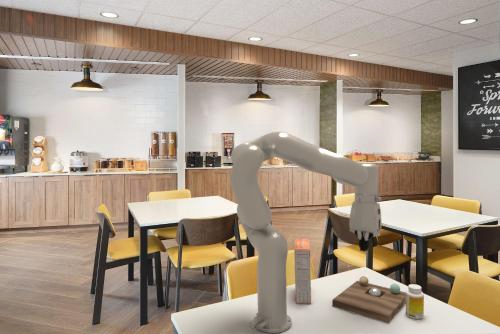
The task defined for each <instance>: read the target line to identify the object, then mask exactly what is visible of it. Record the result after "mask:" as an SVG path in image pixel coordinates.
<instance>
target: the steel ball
mask: <svg viewBox="0 0 500 334" xmlns="http://www.w3.org/2000/svg"><path fill="white" fill-rule="evenodd" d="M369 295H373V296H377V297H381V291H380V290H379V289H378V288H371V289H370V290H369Z"/></svg>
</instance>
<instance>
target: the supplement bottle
mask: <svg viewBox="0 0 500 334" xmlns="http://www.w3.org/2000/svg"><path fill="white" fill-rule="evenodd" d="M405 292H406V303H405V315H406V316H407V317H409V318H410V319H415V320H421V319H423V318H424V315H425V314H424V312H425V310H424V309H425V308H424V307H425V306H424V305H425V304H424V302H425V296H424V295H425V294H424V293H423V291H422V286H421V285H418V284H413V283H411V284H408V289H407V290H406V291H405Z"/></svg>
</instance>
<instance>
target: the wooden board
mask: <svg viewBox="0 0 500 334" xmlns="http://www.w3.org/2000/svg"><path fill="white" fill-rule="evenodd" d="M371 288H378V289H379V290H380V291H381V297H377V296H373V295H369V290H370V289H371ZM331 300H332V301H331V302H332V306H331V307H333V308H337V309H340V310H343V311H347V312H351V313H353V314H357V315H359V316H363V317H365V318H370V319H373V320H377V321H380V322H382V323H386V324H390V322H391V321H392V320H393V319H394V318H395V316H396V315H397V314H398V313H399V312H400V311H401V310H402V308H403V307H404V306H406V291H401V290H400V292H399V293H393V292H392V291H391V290H390V287H386V286H382V285H378V284H373V283H370V282H368V284H367V285H365V286H363V285H361V284H360V282H359V280H356V281H355V282H353V283H352V284H351V285H350V286H348V287H346V288H345V289H344V290H342V292H340V293H339V294H337V295H336V296H335V297H333V299H331Z"/></svg>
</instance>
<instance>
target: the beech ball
mask: <svg viewBox="0 0 500 334" xmlns="http://www.w3.org/2000/svg"><path fill="white" fill-rule="evenodd" d="M358 281H359V282H360V284H361V285H363V286H365V285H367V284H368V283H370V282H369V278H368V277H366V276H364V275H363V276H360V277H359V280H358Z"/></svg>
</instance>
